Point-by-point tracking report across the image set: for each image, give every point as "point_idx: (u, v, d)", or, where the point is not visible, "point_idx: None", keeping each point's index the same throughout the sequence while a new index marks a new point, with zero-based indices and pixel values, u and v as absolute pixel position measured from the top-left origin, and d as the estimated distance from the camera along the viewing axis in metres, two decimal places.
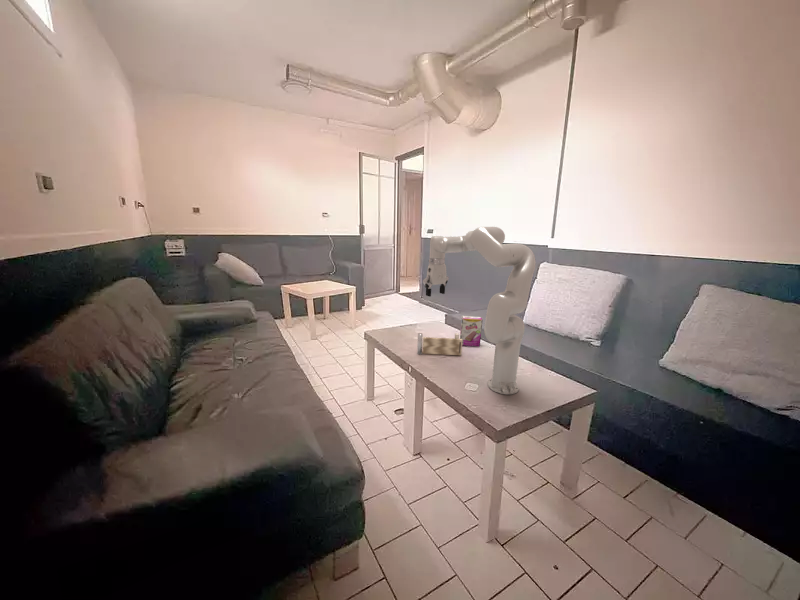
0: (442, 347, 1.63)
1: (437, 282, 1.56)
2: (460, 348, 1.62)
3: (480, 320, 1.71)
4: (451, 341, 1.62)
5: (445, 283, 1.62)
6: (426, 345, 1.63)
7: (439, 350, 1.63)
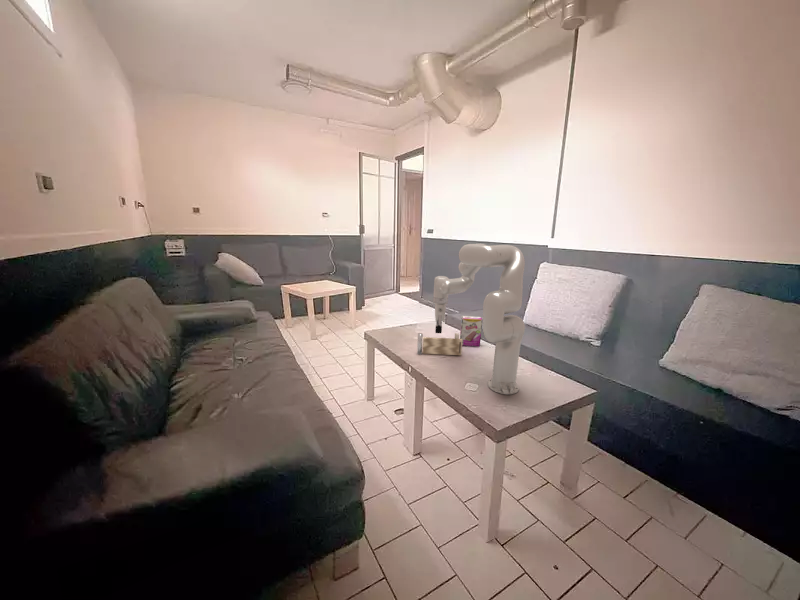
0: (442, 347, 1.63)
1: None
2: (460, 348, 1.62)
3: (480, 320, 1.71)
4: (451, 341, 1.62)
5: None
6: (426, 345, 1.63)
7: (439, 350, 1.63)
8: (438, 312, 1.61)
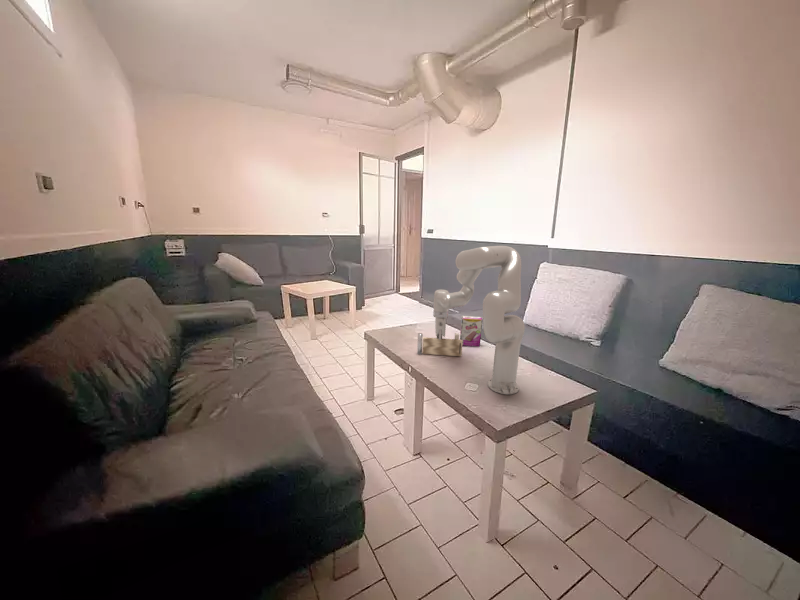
0: (442, 348, 1.62)
1: None
2: (460, 349, 1.61)
3: (480, 320, 1.71)
4: (451, 342, 1.61)
5: None
6: (426, 345, 1.63)
7: (439, 350, 1.63)
8: (438, 326, 1.59)
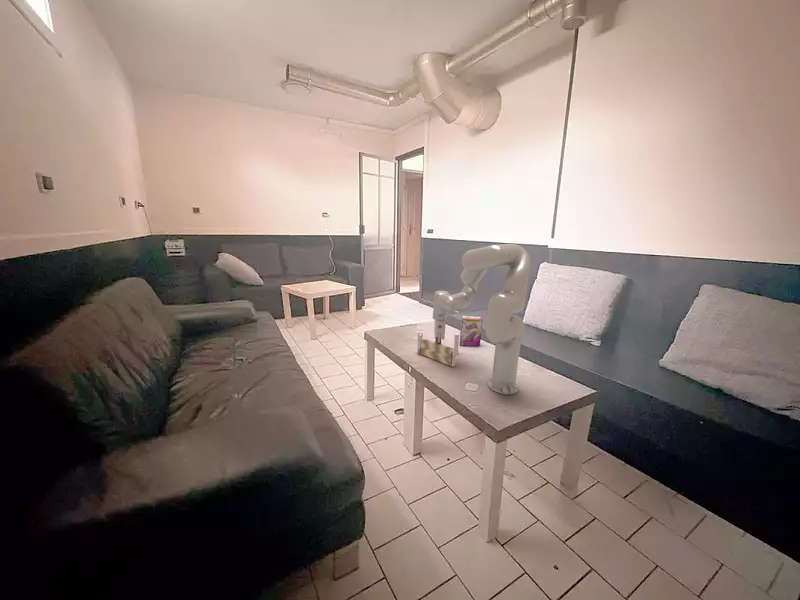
0: (436, 353, 1.56)
1: None
2: (452, 359, 1.50)
3: (480, 320, 1.71)
4: (444, 348, 1.52)
5: None
6: (423, 347, 1.61)
7: (434, 355, 1.57)
8: (437, 329, 1.53)
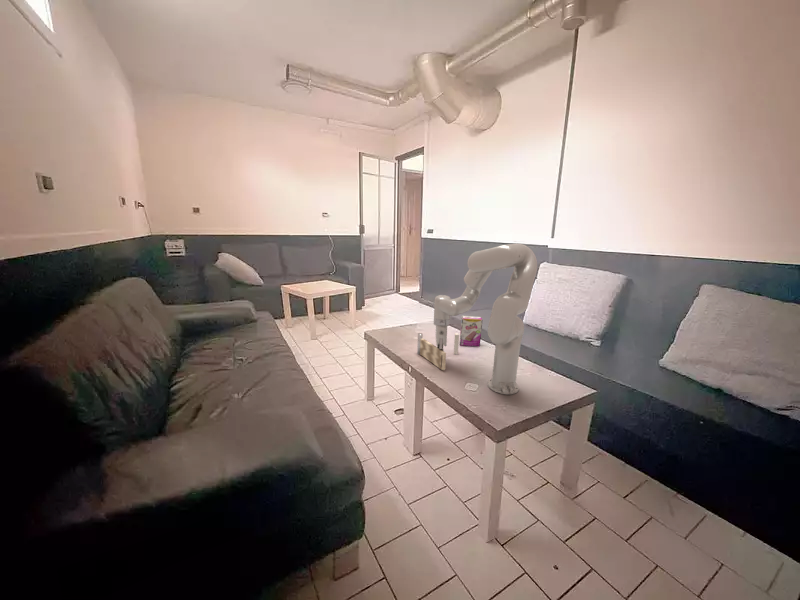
0: (431, 354, 1.54)
1: None
2: (442, 362, 1.46)
3: (480, 320, 1.71)
4: (436, 351, 1.49)
5: None
6: (422, 347, 1.61)
7: (429, 356, 1.56)
8: (439, 335, 1.47)
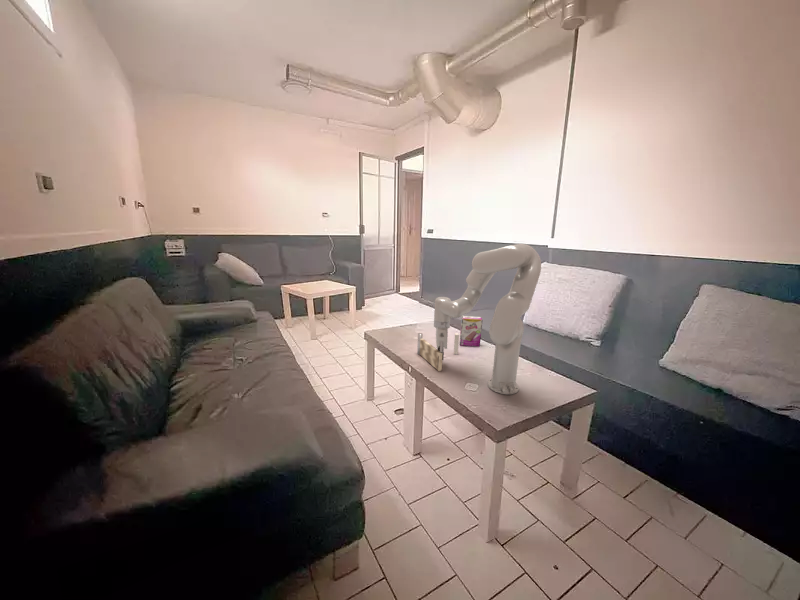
0: (429, 354, 1.54)
1: None
2: (438, 363, 1.45)
3: (480, 320, 1.71)
4: (433, 351, 1.49)
5: None
6: (421, 347, 1.61)
7: (427, 357, 1.55)
8: (439, 338, 1.44)
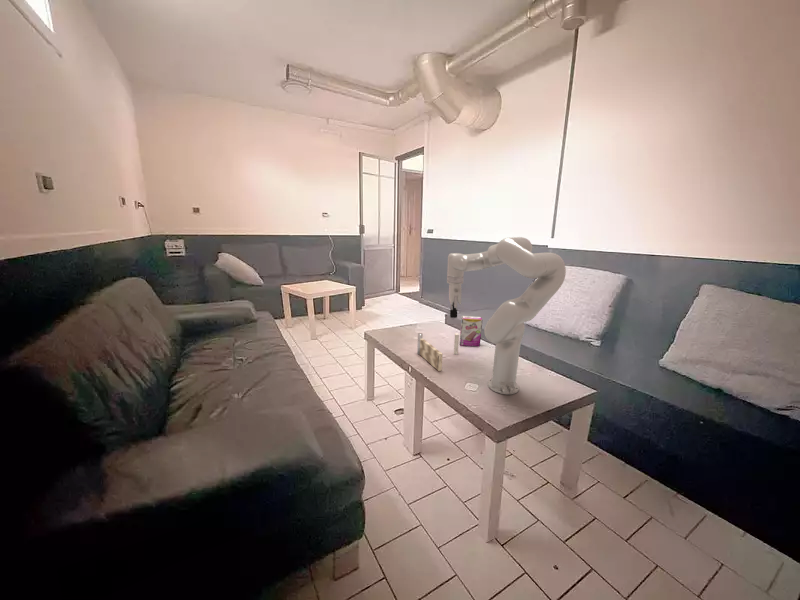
0: (429, 354, 1.54)
1: None
2: (438, 363, 1.45)
3: (480, 320, 1.71)
4: (433, 351, 1.49)
5: None
6: (421, 347, 1.61)
7: (427, 357, 1.55)
8: (454, 293, 1.44)
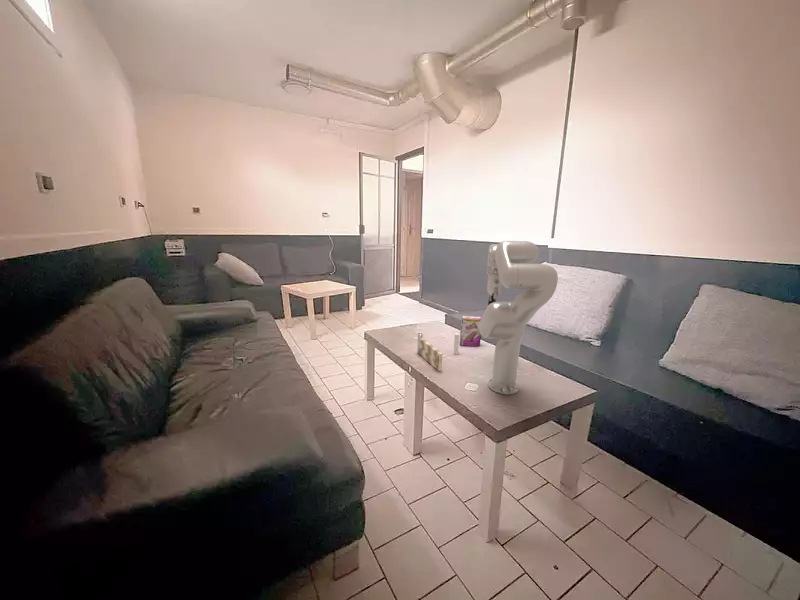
0: (429, 354, 1.54)
1: None
2: (438, 363, 1.45)
3: (480, 320, 1.71)
4: (433, 351, 1.49)
5: None
6: (421, 347, 1.61)
7: (427, 357, 1.55)
8: (494, 284, 1.44)
